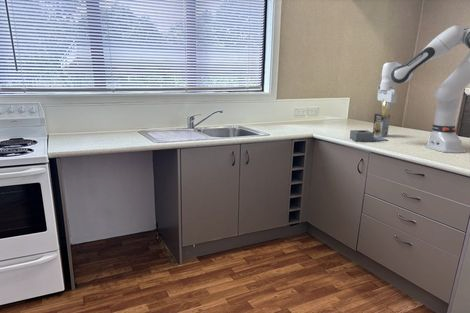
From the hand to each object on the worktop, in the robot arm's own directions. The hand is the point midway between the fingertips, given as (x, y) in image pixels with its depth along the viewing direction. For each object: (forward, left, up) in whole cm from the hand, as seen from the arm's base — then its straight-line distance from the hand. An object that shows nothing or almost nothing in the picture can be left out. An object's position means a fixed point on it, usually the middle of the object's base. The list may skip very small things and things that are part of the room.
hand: (385, 108), depth 222 cm
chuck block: (+8, +11, -23) cm, 26 cm away
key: (0, 0, -6) cm, 6 cm away
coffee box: (+24, -9, -23) cm, 34 cm away
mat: (+11, -1, -23) cm, 25 cm away
